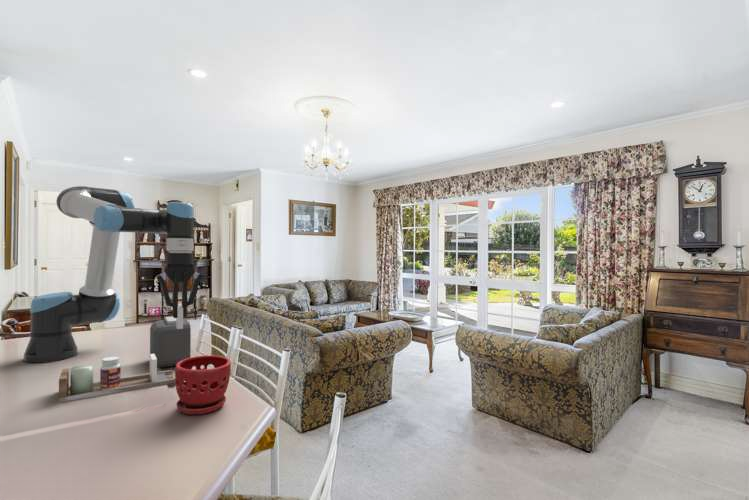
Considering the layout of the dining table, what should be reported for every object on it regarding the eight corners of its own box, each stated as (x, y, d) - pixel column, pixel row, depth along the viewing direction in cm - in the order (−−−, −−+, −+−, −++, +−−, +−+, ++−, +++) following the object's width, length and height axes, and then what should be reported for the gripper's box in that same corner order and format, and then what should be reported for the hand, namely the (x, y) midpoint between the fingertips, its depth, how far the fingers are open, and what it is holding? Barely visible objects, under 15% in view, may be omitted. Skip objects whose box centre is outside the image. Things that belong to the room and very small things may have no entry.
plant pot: (174, 423, 89) (175, 372, 89) (175, 402, 101) (175, 357, 101) (233, 412, 95) (233, 365, 95) (227, 394, 107) (227, 352, 107)
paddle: (149, 376, 117) (149, 354, 117) (164, 374, 119) (164, 352, 119) (152, 383, 111) (152, 359, 111) (167, 381, 113) (167, 357, 113)
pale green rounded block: (70, 391, 105) (71, 366, 105) (93, 388, 108) (93, 363, 108) (69, 397, 101) (69, 371, 101) (92, 393, 104) (93, 368, 104)
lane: (62, 394, 106) (62, 368, 106) (171, 376, 122) (171, 354, 121) (58, 406, 98) (58, 379, 98) (176, 385, 113) (176, 362, 113)
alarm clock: (190, 365, 133) (190, 321, 133) (152, 371, 126) (153, 324, 126) (183, 354, 146) (183, 313, 146) (149, 358, 140) (149, 316, 140)
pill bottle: (110, 391, 105) (110, 361, 105) (95, 390, 106) (96, 360, 106) (124, 385, 110) (124, 356, 110) (110, 384, 111) (111, 355, 111)
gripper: (157, 252, 111) (156, 332, 111) (205, 252, 119) (204, 327, 119) (154, 252, 117) (154, 328, 117) (200, 252, 125) (199, 323, 125)
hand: (179, 328), depth 118 cm, fingers closed
